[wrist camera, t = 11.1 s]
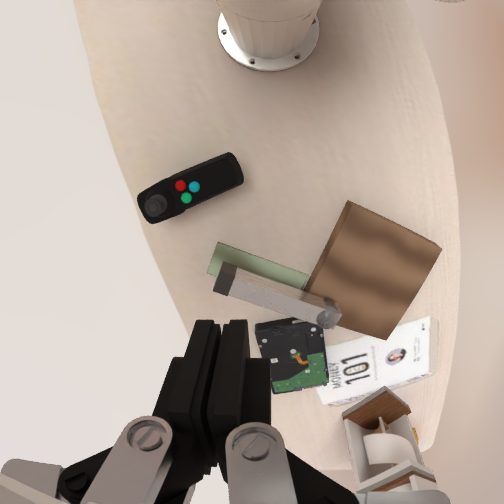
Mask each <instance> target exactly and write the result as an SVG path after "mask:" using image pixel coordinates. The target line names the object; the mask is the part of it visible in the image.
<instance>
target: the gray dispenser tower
mask: <svg viewBox="0 0 504 504" xmlns="http://www.w3.org/2000/svg"><path fill="white" fill-rule="evenodd" d="M410 413H411V410H410V408H409V405H407V404H406V403H405V402H404V401H402V400H401V399H400V398H399V397H398V396H396V395H395V394H394V393H393V392H392V391H390V390H389V389H388V388H387V387H386V386H384V387H382V388H381V389H379V390H378V391H376V392H375V393H373V394H372V395H370V396H369V397H367V398H366V399H364V400H362V401H361V402H359V403H358V404H356V405H354V406H353V407H351V408H350V409H348V410H346V411H345V412H343V413H342V415H343V420H344V425H345V430H346V435H347V441H348V446H349V451H350V457H351V462H352V468H353V474H354V479H355V485H356V491H357V493H359V494H367V492H368V491H371V492H393V491H418V490H438V487H437V483H436V480H435V477H434V474H433V471H432V470H431V469H429V468H427V467H425V465H424V462H423V460H422V456H421V453H420V450H419V447H418V445H417V442H416V439H415V436H414V433H413V430H412V428H411V425H410V422H409V419H408V417H407V415H408V414H410Z"/></svg>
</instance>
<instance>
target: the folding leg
mask: <svg viewBox="0 0 504 504" xmlns="http://www.w3.org/2000/svg"><path fill="white" fill-rule="evenodd" d="M213 291H214V292H217V293H220V294H223V295H225V296H228V295H229V296H232V297H235V298H238V299H241V300H244V301H247V302H250V303H253V304H256V305H258V306H261V307H264V308H267V309H270V310H273V311H276V312H279V313H282V314H286V315H289V316H292V317H295V318H298V319H301V320H304V321H307V322H310V323H314V324H317V325H318V326H319V327H321V328H323V329H334V328H335V326H336V325H337V324H338V322H339V320H340V318H341V316H342V312H341V310H340V307H339V304H338V303H337V302H334V300H333V299H331V298H327V297H325V298H322V297H319V296H316V295H313V294H311V293H308V292H305V291H302V290H299V289H296V288H293V287H290V286H288V285H285V284H282V283H279V282H276V281H273V280H271V279H268V278H265V277H262V276H259V275H256V274H254V273H251V272H248V271H245V270H242V269H240V268H237V266H235V265H233V264H230V263H227V262H224V261H223V262H222V265H221V268H220V270H219V273H218V276H217V279H216V282H215V285H214V288H213Z"/></svg>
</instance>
